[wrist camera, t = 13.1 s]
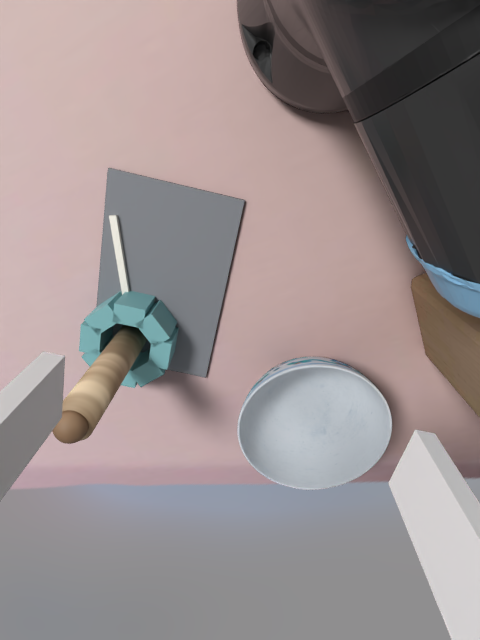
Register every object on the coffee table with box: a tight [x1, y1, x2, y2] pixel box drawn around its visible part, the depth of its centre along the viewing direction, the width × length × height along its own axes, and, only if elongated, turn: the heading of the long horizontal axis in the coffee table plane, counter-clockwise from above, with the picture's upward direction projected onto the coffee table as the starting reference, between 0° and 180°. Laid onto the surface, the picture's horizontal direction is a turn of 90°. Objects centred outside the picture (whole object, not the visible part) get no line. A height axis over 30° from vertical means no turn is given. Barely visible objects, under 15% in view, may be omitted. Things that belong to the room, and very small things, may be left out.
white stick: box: [109, 215, 130, 295], centre depth 39 cm, size 8×1×1 cm, turn 2°
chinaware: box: [238, 357, 392, 490], centre depth 41 cm, size 15×15×8 cm
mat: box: [97, 168, 245, 378], centre depth 40 cm, size 20×13×1 cm, turn 167°
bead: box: [79, 291, 179, 388], centre depth 41 cm, size 9×9×4 cm
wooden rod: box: [53, 325, 148, 444], centre depth 34 cm, size 3×3×17 cm
